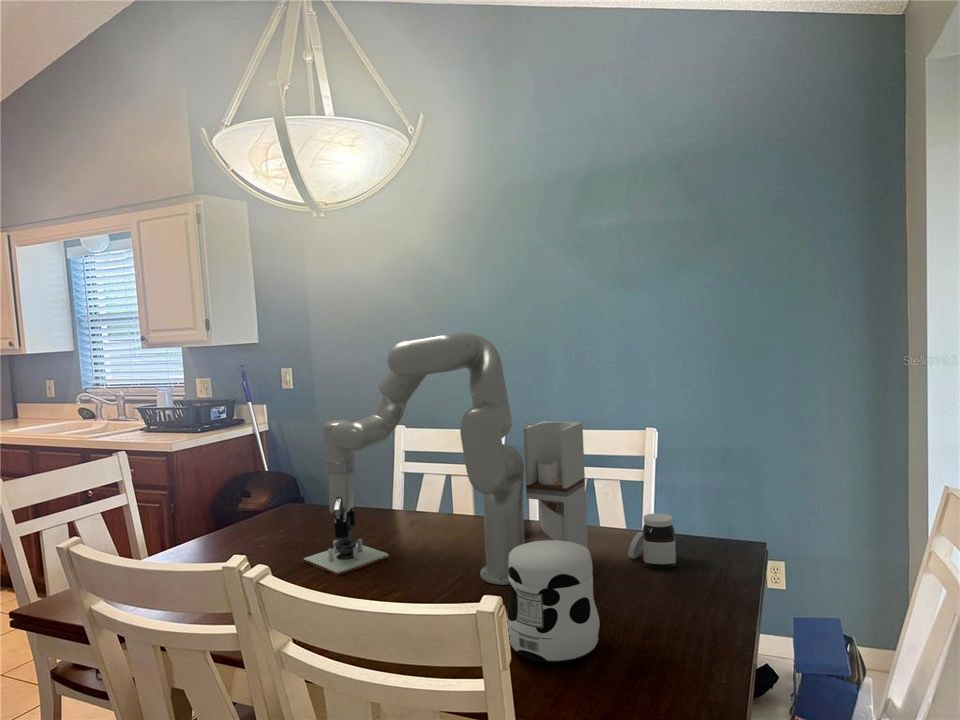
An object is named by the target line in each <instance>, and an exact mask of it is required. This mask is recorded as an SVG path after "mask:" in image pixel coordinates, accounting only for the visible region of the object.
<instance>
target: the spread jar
mask: <svg viewBox="0 0 960 720" xmlns="http://www.w3.org/2000/svg"><path fill="white" fill-rule="evenodd" d="M673 521H674V520H673V516H671V515H669V514H665V513H656V512H655V513H649V514H645V515H644V516H643V523H644V524H643V526H642V531H638V532H637V533H636V534H634V537H633V538H632V540H631V542H630V544H629V547H628V552H627V555H628V557H629V558H631V559H633V560H635V559H637V558H638V557H639V556H640V554H641V552H642V555H643V556H642V557H643V563H644V565H645V566H646V567H647V568H651V569H654V570H668V569H671V568H674V567H675V566H676V564H677V563H676V562H677V556H676V553H677V551H676V531H675V528H674V525H673V524H674V523H673Z"/></svg>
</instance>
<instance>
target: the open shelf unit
mask: <svg viewBox="0 0 960 720" xmlns="http://www.w3.org/2000/svg"><path fill="white" fill-rule="evenodd" d="M583 428H584V427H583V422H576V421H575V422H573V421H548V420H543V421H540V422H538V423H535V424H532V425H529V426H525V427H524V428H523V429H522V430H523V444H524V445H523V446H524V447H523V448H524V449H523V450H524V472H525V473H524V475H525V488H526V489H525V491H526V493H525V494H526V499H529V500H530V499H531V500H538V503H539V520H540V522H539V523H540V527H541V529H542V531H543V532H544V533H545V534H546V535H547V536H548V537H549V538H550V539H551V540H558V541H567V542H573V543H576V544H579V545H582V546H584V547H585V548H587V549H588V550H589V545H588V525H587V523H588V522H587V520H588V519H587V502H586V501H587V499H586V496H587V495H586V477H585V474H586V473H585V452H584V431H583Z"/></svg>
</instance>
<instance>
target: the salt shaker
mask: <svg viewBox="0 0 960 720" xmlns="http://www.w3.org/2000/svg"><path fill="white" fill-rule="evenodd" d="M346 521H347V525H348V537H344V538H338V542H336V543H335V546H336V549H337V551H338V552H339V553H340V554H339V555H337V557H336V558H337V559H340V560H348V559H352V558H354V555H353V548H354V547H356V544H357V543H358V541H357V539H353V538H352V529H353V528H352V526H350V517H349V516H348V515H346Z"/></svg>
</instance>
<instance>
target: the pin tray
mask: <svg viewBox="0 0 960 720" xmlns="http://www.w3.org/2000/svg"><path fill="white" fill-rule="evenodd" d="M338 541H339V539H334V540H333V542H332V543H333V548H331V547H330V548H328V549H327V550H325V551H322V552H318V553H315V554H313V555H310V556H309V555H308V556H306V557H304V558H303V559H304V560H306V561H309V562H311V563H313V564H316V565H319V566H321V567H324V568H326V569H328V570H330V571H333V572H335V573H340V572H343V571H347V570H350V569H352V568H355V567H358V566H361V565H364V564H367V563H370V562H372V561H375V560H378V559H382V558H384V557H388V556H389V557H390V555H389V554H390V553H387V552H384V551H381V550H378V549H375V548H372V547H370V546H366V545H363V539H362V538H357V539H356V541H357V544H356V547H354V548H353V555H354V558H352V559H348V560H340V559H337V558H336V557H337V555H339V554H340V553H339V552H338V551H337V549H336V546H335V543H336V542H338Z"/></svg>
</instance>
